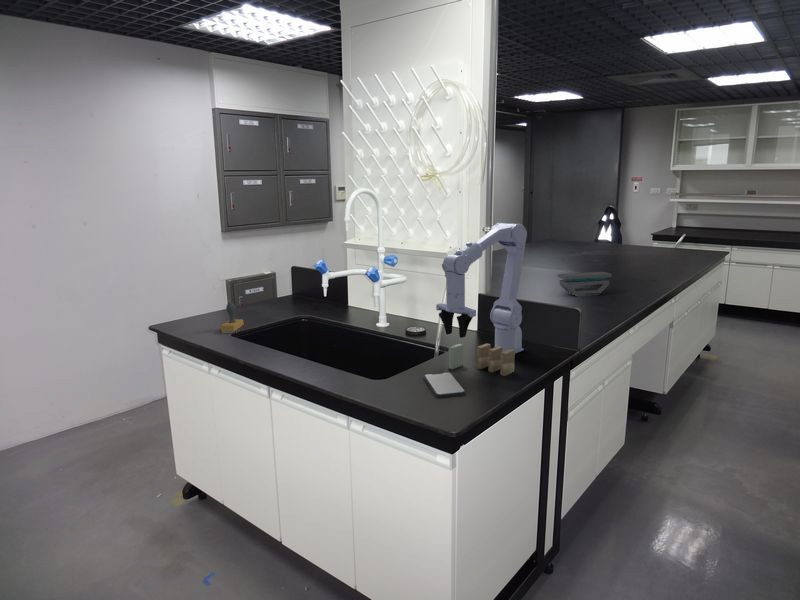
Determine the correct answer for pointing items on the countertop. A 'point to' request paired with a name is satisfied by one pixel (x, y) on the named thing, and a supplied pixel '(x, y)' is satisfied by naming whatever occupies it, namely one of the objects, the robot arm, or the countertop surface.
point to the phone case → (444, 385)
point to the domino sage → (455, 356)
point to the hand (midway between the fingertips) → (455, 335)
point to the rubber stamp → (231, 320)
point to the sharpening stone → (585, 282)
